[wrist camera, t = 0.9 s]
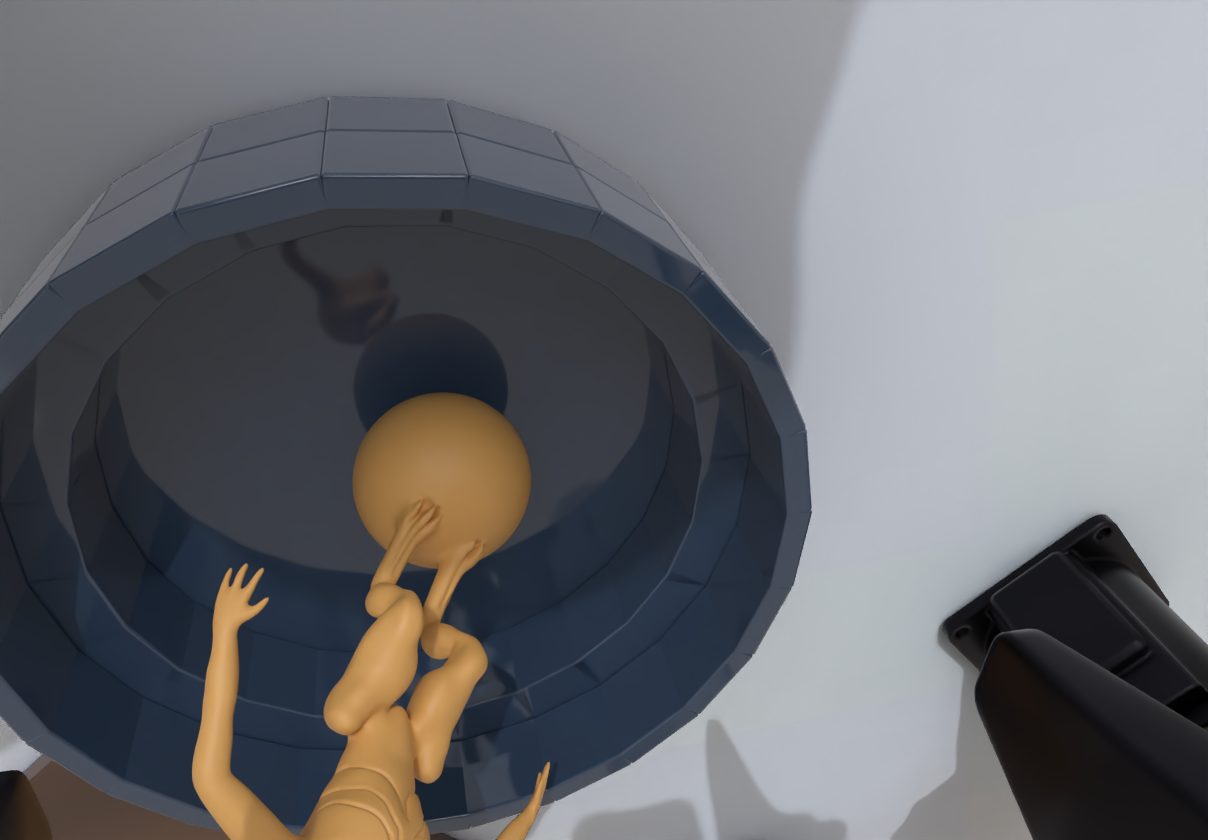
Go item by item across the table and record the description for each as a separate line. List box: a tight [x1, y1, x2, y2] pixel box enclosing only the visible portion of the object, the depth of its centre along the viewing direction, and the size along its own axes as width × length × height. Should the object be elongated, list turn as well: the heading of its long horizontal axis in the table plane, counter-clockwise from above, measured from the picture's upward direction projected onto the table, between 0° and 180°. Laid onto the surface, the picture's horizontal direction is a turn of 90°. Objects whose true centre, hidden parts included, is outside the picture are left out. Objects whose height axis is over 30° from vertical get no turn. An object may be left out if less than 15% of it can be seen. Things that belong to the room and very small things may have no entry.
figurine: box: [192, 392, 550, 840], centre depth 18 cm, size 8×6×12 cm
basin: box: [0, 96, 812, 836], centre depth 21 cm, size 17×17×5 cm
